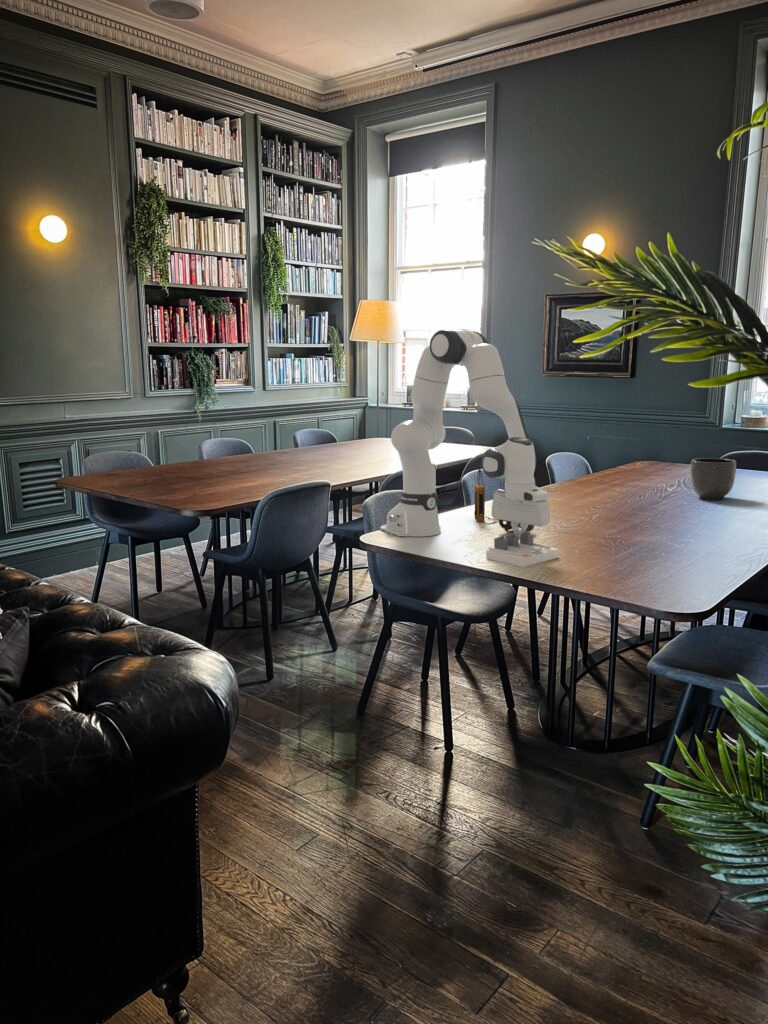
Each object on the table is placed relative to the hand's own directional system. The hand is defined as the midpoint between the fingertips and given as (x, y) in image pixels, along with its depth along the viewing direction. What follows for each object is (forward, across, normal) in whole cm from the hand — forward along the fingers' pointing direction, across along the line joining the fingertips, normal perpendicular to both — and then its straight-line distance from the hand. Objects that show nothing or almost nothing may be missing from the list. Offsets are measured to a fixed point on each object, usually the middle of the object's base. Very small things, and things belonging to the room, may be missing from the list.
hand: (519, 536), depth 234 cm
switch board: (+5, +6, -5) cm, 9 cm away
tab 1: (+2, +2, -10) cm, 10 cm away
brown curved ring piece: (+5, -18, +20) cm, 28 cm away
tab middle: (+2, +2, -5) cm, 6 cm away
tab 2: (+2, +3, 0) cm, 4 cm away
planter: (+5, -6, +129) cm, 129 cm away
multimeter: (+5, -40, +30) cm, 50 cm away
